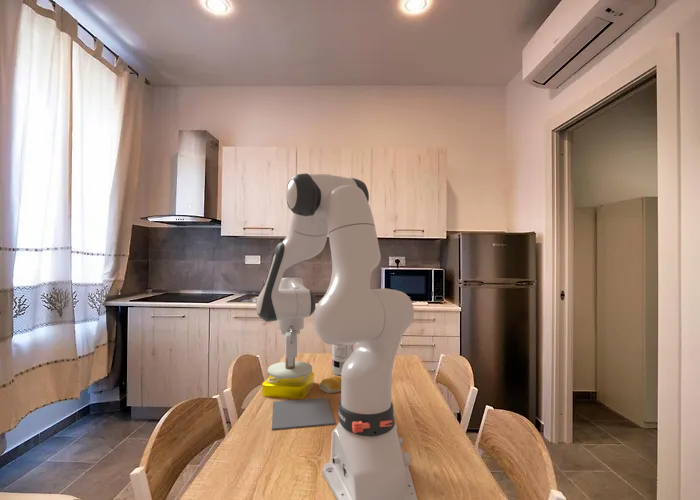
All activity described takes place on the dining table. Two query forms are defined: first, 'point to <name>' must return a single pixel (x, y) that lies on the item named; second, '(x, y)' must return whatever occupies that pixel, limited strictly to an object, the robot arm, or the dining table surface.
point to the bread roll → (331, 384)
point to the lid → (289, 369)
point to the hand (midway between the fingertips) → (290, 363)
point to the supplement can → (340, 357)
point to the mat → (301, 413)
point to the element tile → (288, 387)
